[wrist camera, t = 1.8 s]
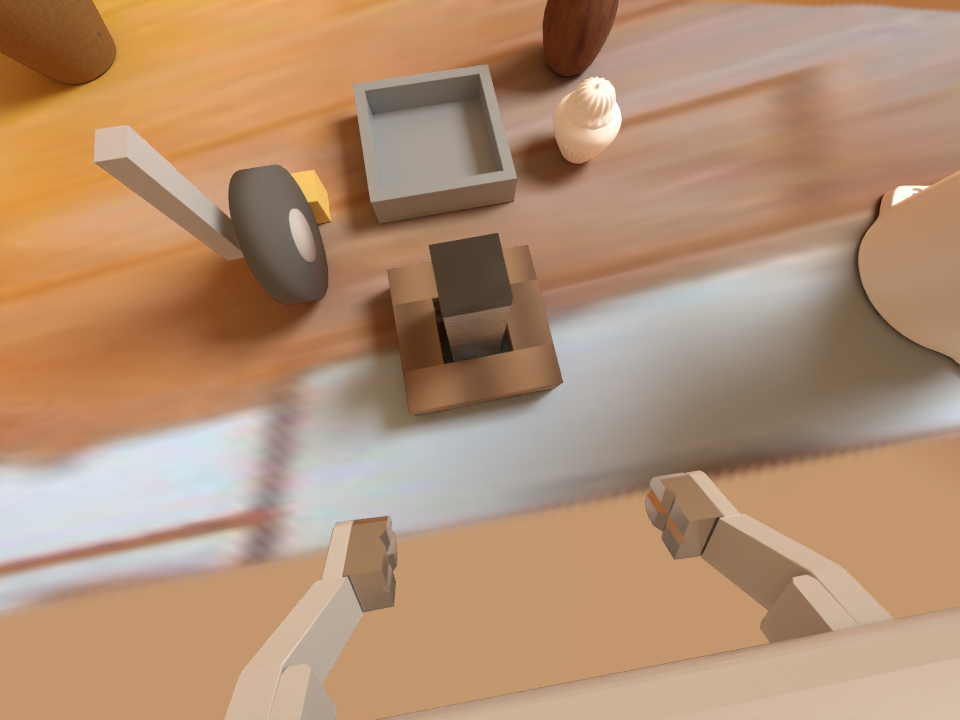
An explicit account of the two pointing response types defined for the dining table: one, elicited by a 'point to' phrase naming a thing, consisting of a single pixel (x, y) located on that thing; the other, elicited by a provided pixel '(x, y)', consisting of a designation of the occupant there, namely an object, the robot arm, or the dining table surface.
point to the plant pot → (57, 38)
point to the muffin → (586, 120)
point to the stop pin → (472, 294)
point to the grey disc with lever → (235, 213)
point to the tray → (433, 143)
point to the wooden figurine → (576, 32)
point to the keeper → (476, 378)
